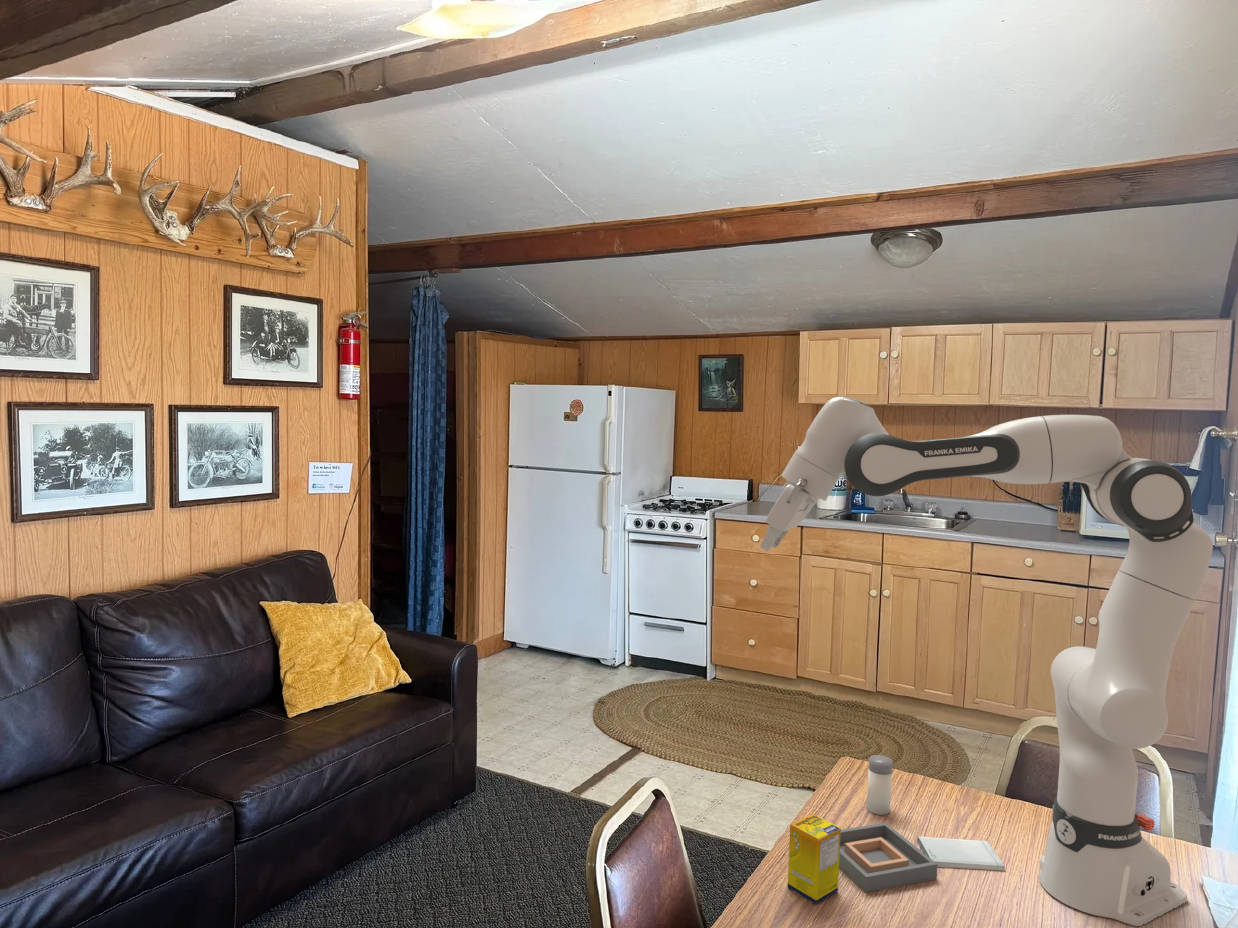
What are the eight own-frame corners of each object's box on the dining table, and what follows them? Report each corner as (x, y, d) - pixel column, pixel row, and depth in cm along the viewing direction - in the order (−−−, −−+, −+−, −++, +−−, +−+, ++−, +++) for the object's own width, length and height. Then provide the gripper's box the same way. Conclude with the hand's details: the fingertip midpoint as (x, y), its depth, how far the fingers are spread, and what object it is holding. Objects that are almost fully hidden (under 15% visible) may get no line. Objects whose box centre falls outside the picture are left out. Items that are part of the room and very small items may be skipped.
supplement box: (808, 875, 140) (812, 812, 139) (838, 892, 135) (842, 827, 134) (785, 887, 136) (789, 823, 135) (815, 905, 131) (819, 839, 131)
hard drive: (931, 860, 144) (1005, 864, 143) (917, 835, 152) (987, 839, 151) (930, 869, 144) (1004, 873, 143) (916, 844, 152) (986, 847, 151)
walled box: (884, 836, 153) (885, 822, 153) (936, 878, 140) (937, 864, 140) (818, 847, 149) (819, 833, 148) (865, 892, 135) (866, 877, 135)
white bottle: (880, 802, 166) (883, 753, 165) (894, 813, 162) (897, 763, 161) (861, 805, 165) (864, 756, 164) (875, 816, 160) (878, 765, 160)
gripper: (818, 489, 136) (775, 561, 137) (828, 489, 155) (790, 552, 157) (784, 469, 137) (742, 541, 139) (798, 472, 157) (761, 535, 159)
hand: (768, 547), depth 148 cm, fingers open, 8 cm apart
